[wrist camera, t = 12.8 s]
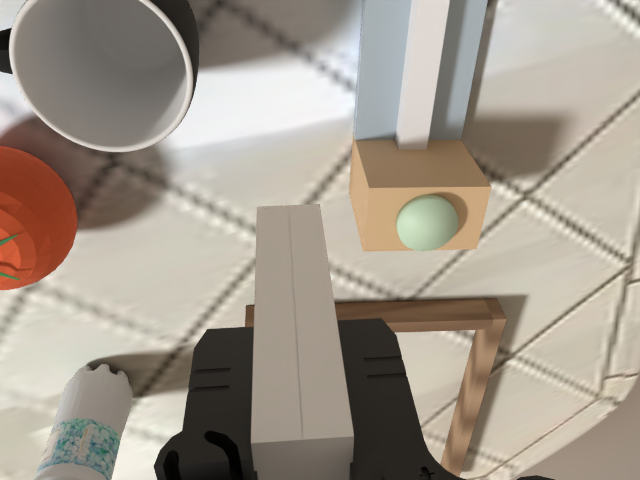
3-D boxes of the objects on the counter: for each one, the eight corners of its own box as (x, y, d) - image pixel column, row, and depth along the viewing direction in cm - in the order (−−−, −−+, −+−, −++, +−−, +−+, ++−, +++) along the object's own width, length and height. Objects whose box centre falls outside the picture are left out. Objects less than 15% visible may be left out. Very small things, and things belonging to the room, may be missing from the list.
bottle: (69, 351, 53) (-18, 578, 37) (142, 362, 55) (90, 584, 38) (64, 397, 57) (-16, 622, 40) (133, 406, 58) (83, 626, 42)
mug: (201, -58, 35) (181, -25, 26) (216, 85, 40) (203, 151, 31) (-3, -57, 34) (-90, -22, 25) (39, 90, 39) (-22, 158, 31)
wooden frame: (246, 305, 52) (245, 327, 49) (496, 298, 54) (506, 319, 51) (256, 483, 68) (255, 506, 66) (447, 473, 70) (453, 494, 68)
